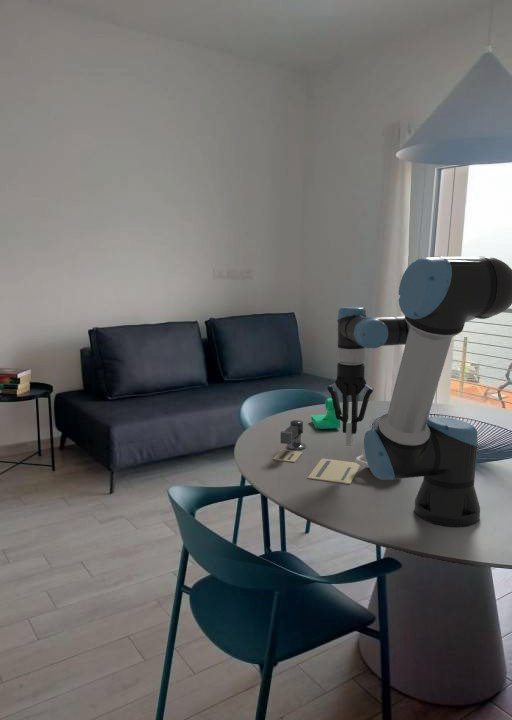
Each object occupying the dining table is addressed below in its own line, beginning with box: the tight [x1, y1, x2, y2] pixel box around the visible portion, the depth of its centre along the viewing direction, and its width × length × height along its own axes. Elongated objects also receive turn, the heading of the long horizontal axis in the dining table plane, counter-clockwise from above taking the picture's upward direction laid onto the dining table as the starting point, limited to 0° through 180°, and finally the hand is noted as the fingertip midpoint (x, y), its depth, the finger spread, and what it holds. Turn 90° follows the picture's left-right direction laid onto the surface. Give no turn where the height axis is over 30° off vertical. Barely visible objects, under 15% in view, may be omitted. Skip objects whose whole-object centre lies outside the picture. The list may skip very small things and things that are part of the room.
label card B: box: [307, 457, 361, 485], centre depth 169 cm, size 16×12×1 cm
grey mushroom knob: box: [286, 434, 307, 451], centre depth 189 cm, size 6×6×5 cm
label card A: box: [272, 449, 304, 464], centre depth 181 cm, size 9×7×1 cm
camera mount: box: [310, 397, 341, 430], centre depth 211 cm, size 12×8×10 cm, turn 10°
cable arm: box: [280, 419, 304, 445], centre depth 184 cm, size 14×4×4 cm, turn 159°
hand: (349, 444), depth 166 cm, fingers closed
